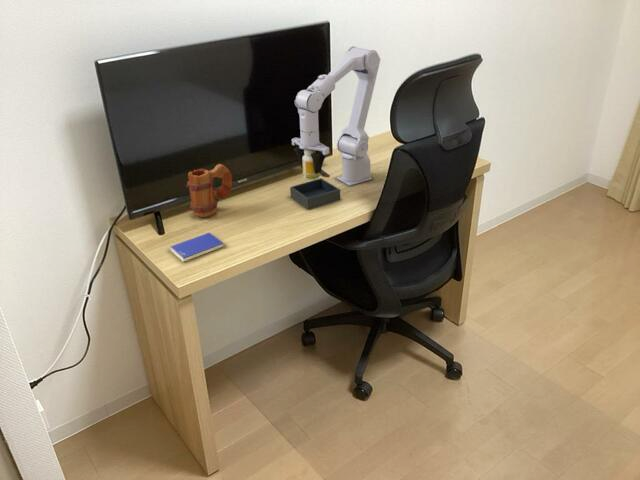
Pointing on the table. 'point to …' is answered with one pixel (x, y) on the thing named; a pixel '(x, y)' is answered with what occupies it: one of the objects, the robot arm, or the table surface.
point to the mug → (207, 189)
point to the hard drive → (196, 246)
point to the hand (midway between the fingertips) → (311, 170)
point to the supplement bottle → (309, 166)
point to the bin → (315, 193)
